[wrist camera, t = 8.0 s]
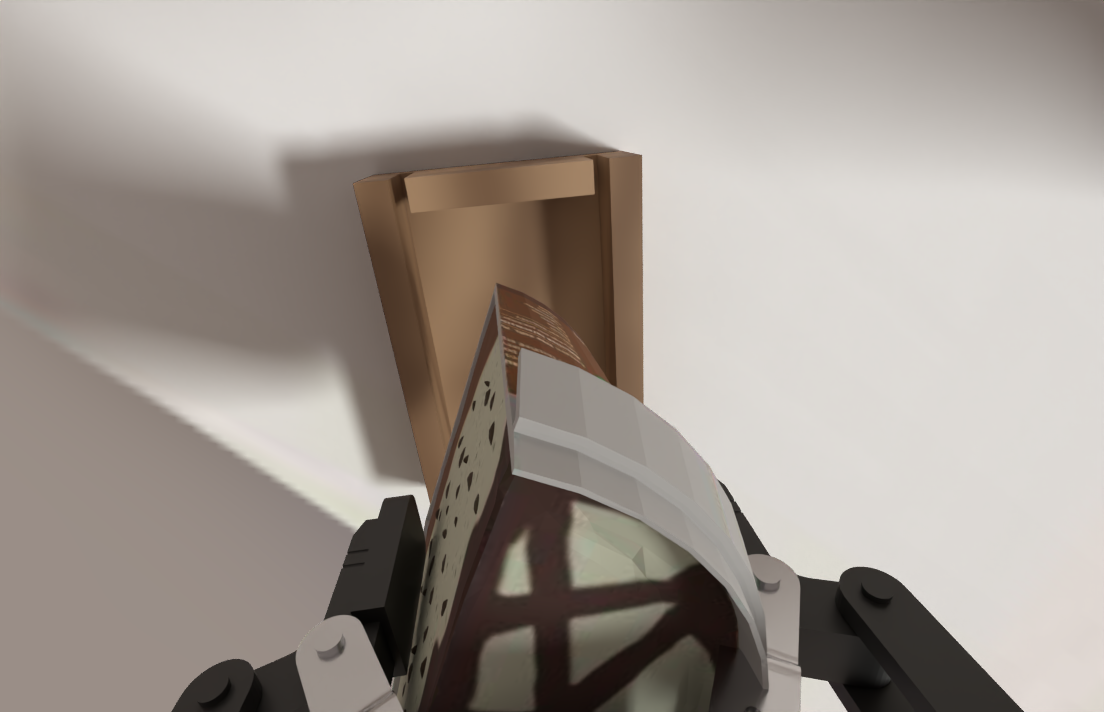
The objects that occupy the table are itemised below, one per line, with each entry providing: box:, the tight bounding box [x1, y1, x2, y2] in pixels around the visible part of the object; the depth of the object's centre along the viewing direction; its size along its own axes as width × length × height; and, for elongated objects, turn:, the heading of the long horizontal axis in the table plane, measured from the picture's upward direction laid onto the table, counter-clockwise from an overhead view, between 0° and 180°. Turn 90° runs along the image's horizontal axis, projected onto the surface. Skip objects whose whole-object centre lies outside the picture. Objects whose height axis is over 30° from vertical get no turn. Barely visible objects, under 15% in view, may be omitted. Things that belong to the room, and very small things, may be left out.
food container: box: [392, 283, 769, 712], centre depth 13 cm, size 12×6×10 cm, turn 161°
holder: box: [353, 151, 643, 504], centre depth 23 cm, size 10×16×3 cm, turn 5°
